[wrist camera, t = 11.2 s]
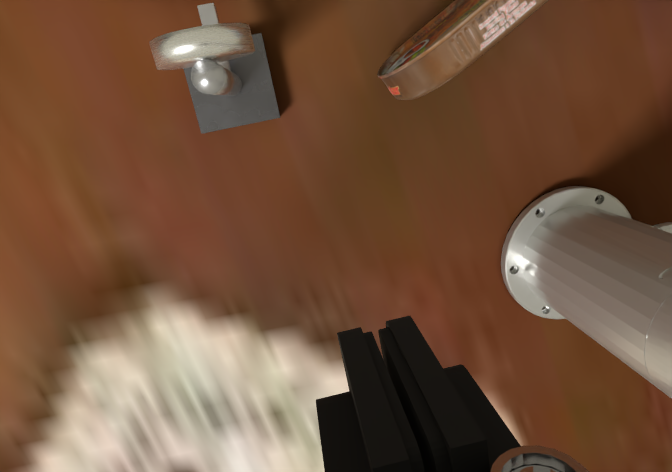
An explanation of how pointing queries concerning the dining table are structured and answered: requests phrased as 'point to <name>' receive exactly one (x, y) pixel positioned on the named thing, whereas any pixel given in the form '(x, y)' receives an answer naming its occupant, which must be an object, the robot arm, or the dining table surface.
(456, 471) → the robot arm
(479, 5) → the tin
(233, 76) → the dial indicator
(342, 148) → the dining table surface
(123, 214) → the dining table surface
